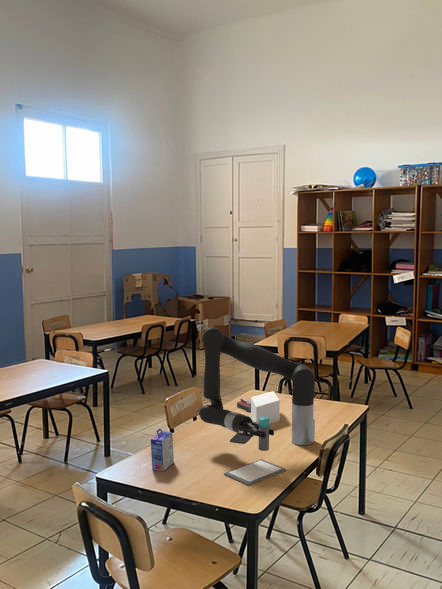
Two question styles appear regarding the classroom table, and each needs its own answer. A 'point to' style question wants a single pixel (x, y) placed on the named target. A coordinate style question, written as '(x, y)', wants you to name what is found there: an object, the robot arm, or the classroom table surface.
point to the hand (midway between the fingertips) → (269, 434)
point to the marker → (264, 426)
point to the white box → (265, 407)
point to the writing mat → (254, 472)
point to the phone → (239, 439)
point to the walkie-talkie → (244, 405)
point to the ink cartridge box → (162, 450)
